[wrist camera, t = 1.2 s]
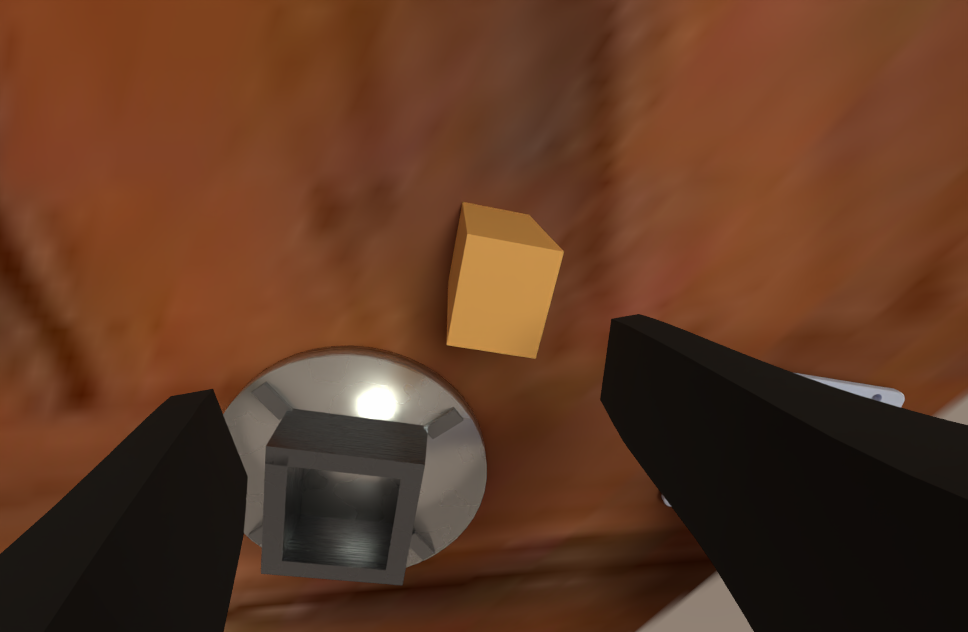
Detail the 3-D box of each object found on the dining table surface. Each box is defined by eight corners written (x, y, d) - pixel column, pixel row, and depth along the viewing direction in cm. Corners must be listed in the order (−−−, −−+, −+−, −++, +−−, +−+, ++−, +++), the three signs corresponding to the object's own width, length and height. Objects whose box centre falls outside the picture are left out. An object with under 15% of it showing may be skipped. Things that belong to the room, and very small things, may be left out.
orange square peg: (528, 214, 18) (563, 251, 12) (511, 292, 19) (535, 358, 13) (462, 202, 17) (467, 234, 12) (448, 281, 19) (446, 345, 13)
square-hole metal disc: (509, 368, 20) (520, 413, 17) (460, 567, 24) (462, 634, 21) (220, 324, 19) (171, 365, 15) (221, 546, 23) (182, 615, 19)
